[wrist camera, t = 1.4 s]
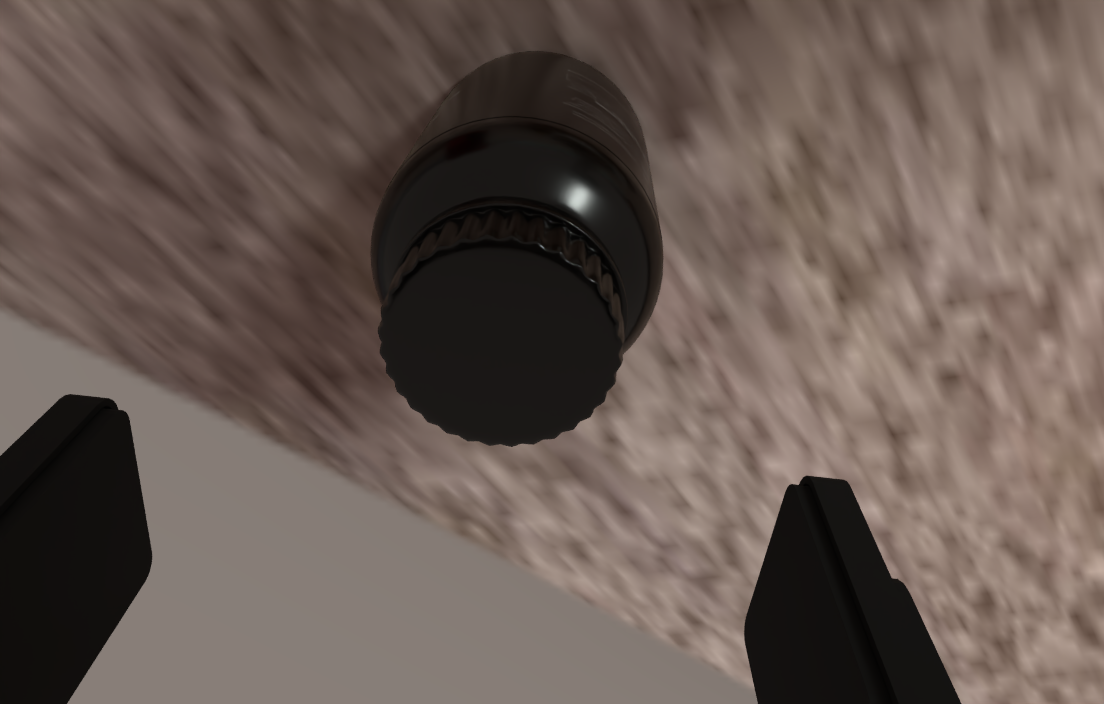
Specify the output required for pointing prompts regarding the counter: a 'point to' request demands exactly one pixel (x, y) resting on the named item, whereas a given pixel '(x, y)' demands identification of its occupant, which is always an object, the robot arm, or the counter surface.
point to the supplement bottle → (518, 251)
